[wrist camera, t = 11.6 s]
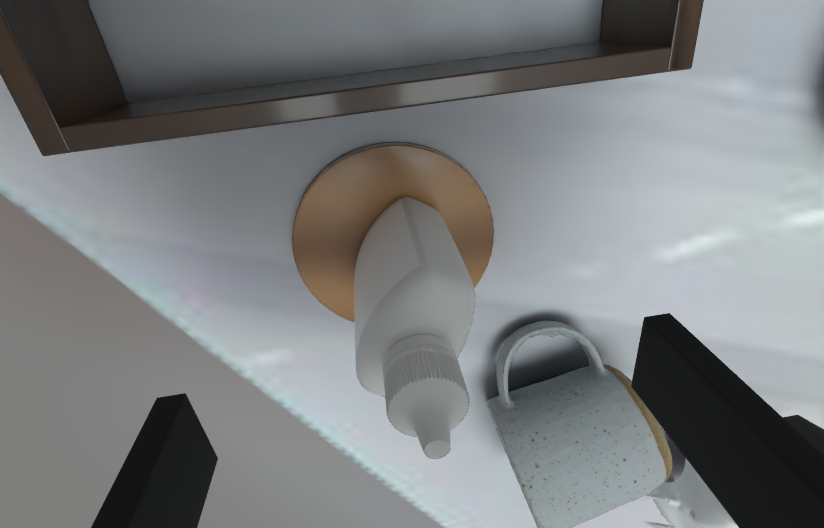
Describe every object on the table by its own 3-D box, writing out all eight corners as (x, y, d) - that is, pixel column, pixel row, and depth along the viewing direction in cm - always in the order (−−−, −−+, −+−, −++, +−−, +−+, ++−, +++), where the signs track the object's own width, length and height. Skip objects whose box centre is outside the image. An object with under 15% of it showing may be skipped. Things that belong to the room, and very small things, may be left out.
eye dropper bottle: (323, 245, 21) (296, 455, 11) (420, 181, 21) (493, 343, 10) (374, 306, 23) (393, 532, 13) (465, 250, 23) (565, 445, 12)
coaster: (270, 158, 20) (267, 161, 19) (488, 127, 20) (492, 130, 20) (317, 335, 25) (316, 342, 24) (492, 306, 25) (495, 313, 25)
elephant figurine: (598, 443, 32) (678, 577, 24) (760, 369, 30) (901, 486, 23) (633, 507, 36) (709, 637, 29) (775, 445, 35) (898, 565, 27)
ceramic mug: (618, 410, 31) (693, 517, 24) (506, 451, 31) (549, 567, 24) (590, 290, 26) (675, 382, 19) (458, 342, 26) (495, 449, 19)
